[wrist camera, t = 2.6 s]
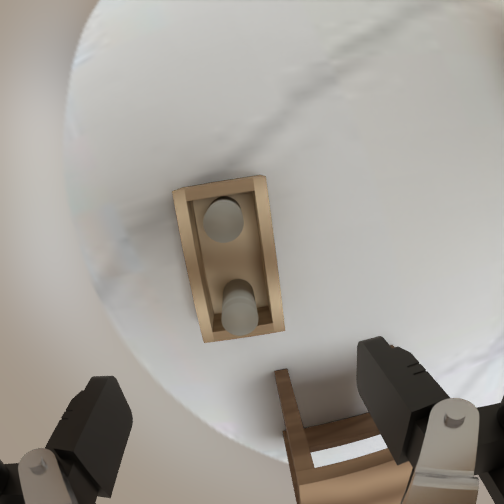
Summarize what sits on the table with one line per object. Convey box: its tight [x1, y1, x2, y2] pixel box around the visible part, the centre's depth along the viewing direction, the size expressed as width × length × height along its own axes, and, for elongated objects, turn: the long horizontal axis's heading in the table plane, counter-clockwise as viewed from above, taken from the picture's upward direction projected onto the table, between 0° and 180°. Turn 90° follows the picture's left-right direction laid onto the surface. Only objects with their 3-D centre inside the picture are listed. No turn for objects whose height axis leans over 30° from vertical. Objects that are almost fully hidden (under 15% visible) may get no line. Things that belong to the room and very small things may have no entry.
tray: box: [172, 175, 285, 343], centre depth 22 cm, size 11×6×6 cm, turn 8°
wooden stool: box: [275, 345, 413, 504], centre depth 23 cm, size 10×12×13 cm
